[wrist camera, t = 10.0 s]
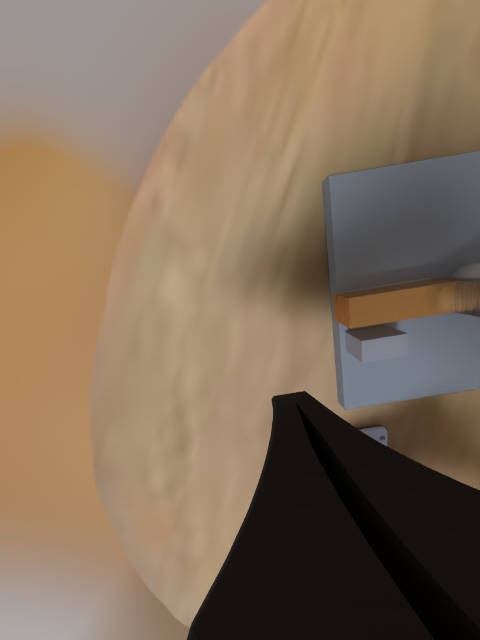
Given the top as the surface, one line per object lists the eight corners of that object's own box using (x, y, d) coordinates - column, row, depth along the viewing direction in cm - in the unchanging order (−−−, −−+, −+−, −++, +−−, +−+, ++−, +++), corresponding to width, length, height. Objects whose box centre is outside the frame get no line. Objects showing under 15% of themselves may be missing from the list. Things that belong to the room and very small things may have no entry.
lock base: (560, 366, 20) (638, 389, 17) (338, 401, 21) (362, 432, 17) (598, 136, 16) (711, 95, 13) (322, 182, 17) (349, 156, 13)
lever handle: (512, 243, 16) (603, 234, 12) (505, 313, 18) (586, 327, 14) (331, 272, 16) (362, 273, 12) (335, 340, 18) (365, 361, 14)
